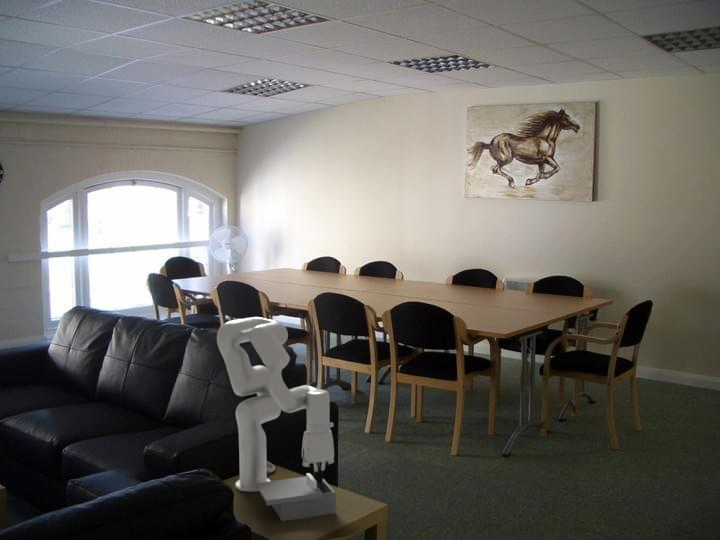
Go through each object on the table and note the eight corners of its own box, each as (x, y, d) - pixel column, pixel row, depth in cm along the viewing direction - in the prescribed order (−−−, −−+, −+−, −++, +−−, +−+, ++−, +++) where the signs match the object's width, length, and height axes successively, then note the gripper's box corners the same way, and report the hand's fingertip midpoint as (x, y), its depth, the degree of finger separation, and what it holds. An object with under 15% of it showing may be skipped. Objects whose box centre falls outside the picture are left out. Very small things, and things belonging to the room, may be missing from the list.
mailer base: (271, 505, 250) (271, 484, 250) (322, 497, 256) (322, 477, 256) (281, 521, 237) (281, 500, 237) (335, 513, 243) (335, 492, 243)
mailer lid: (255, 487, 249) (255, 475, 248) (308, 480, 255) (308, 469, 255) (266, 505, 234) (266, 492, 234) (322, 497, 240) (322, 485, 240)
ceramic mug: (247, 476, 277) (247, 456, 276) (245, 468, 285) (245, 449, 284) (275, 474, 279) (276, 454, 278) (273, 467, 287) (273, 447, 286)
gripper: (335, 422, 252) (336, 475, 254) (293, 426, 247) (293, 480, 249) (343, 428, 246) (343, 482, 247) (299, 433, 240) (299, 488, 242)
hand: (318, 481), depth 248 cm, fingers closed
